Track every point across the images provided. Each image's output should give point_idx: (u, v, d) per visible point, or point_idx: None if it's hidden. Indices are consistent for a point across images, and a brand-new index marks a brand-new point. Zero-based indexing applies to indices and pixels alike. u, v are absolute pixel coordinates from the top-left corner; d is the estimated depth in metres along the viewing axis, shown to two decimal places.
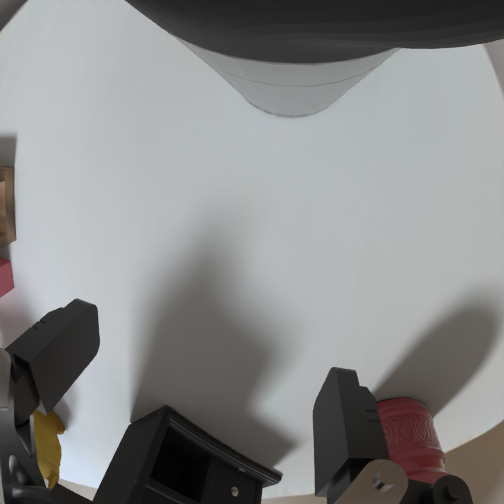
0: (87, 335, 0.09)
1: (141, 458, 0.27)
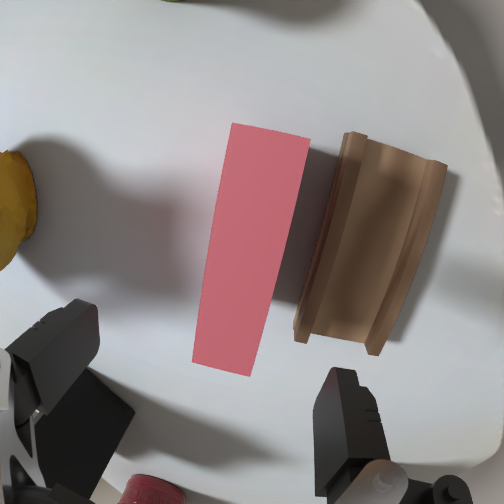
0: (88, 335, 0.09)
1: (107, 450, 0.31)
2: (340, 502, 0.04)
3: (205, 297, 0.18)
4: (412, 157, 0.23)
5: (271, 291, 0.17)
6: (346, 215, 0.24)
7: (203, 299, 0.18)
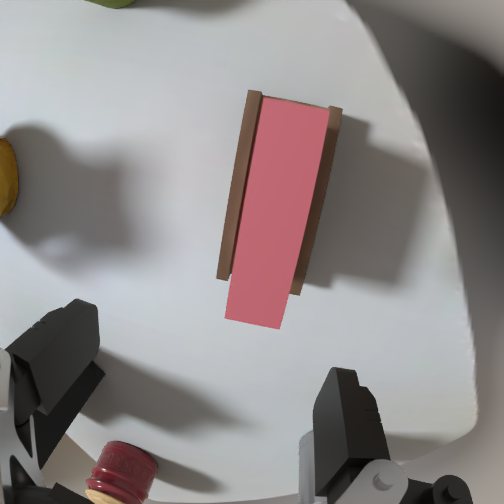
0: (87, 336, 0.09)
1: (76, 405, 0.35)
2: (340, 502, 0.04)
3: (240, 251, 0.20)
4: None
5: (299, 243, 0.19)
6: (247, 159, 0.28)
7: (238, 253, 0.20)
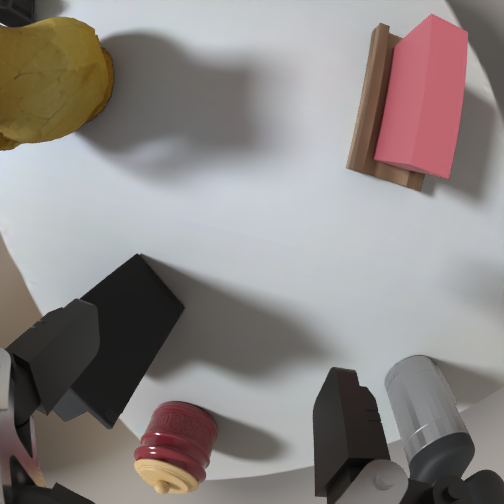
0: (87, 335, 0.09)
1: (159, 336, 0.35)
2: (340, 502, 0.04)
3: (424, 107, 0.20)
4: None
5: (460, 108, 0.20)
6: (382, 71, 0.28)
7: (423, 108, 0.20)
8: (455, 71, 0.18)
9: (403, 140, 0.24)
